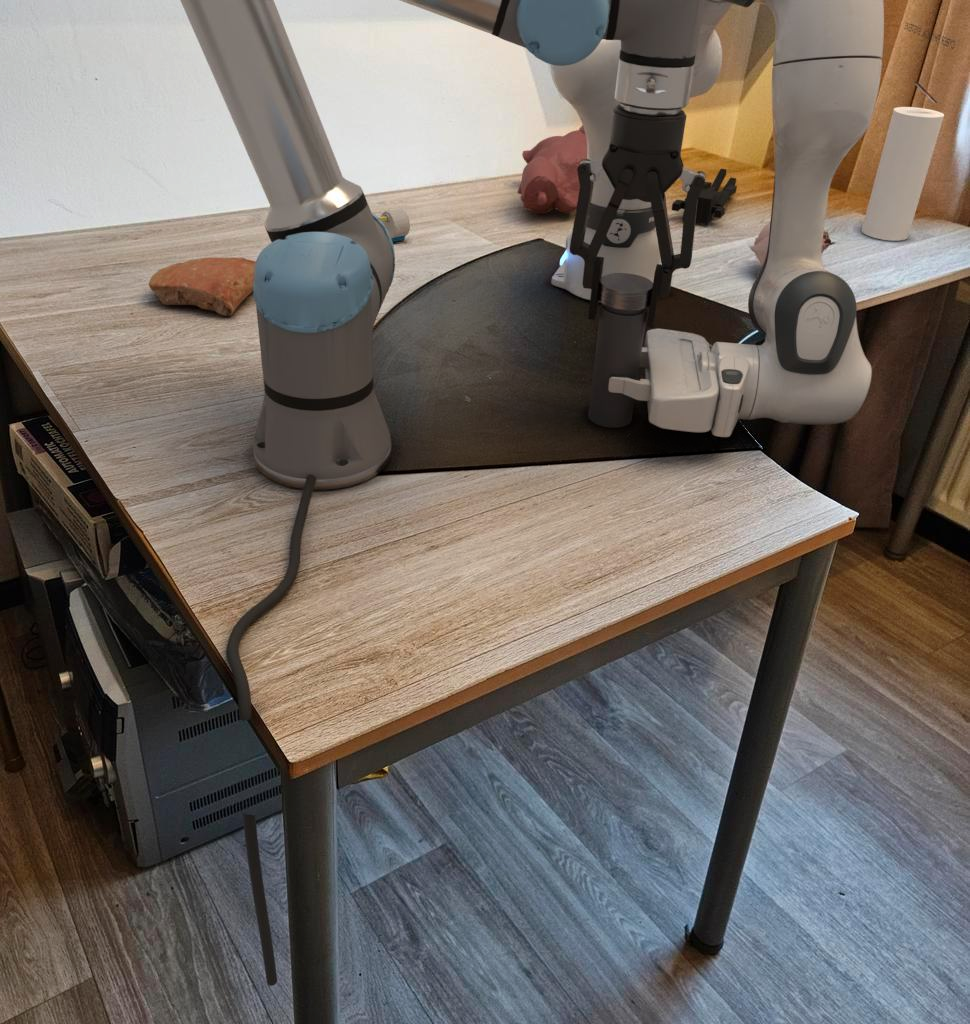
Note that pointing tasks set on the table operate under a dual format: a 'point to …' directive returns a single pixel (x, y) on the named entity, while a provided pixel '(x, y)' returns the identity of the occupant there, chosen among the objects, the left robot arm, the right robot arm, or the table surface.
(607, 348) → the jar
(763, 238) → the toy
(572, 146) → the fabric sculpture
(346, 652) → the table surface
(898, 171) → the tall white tube
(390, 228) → the electric motor
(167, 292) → the ceramic shard
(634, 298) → the lid
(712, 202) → the toy
